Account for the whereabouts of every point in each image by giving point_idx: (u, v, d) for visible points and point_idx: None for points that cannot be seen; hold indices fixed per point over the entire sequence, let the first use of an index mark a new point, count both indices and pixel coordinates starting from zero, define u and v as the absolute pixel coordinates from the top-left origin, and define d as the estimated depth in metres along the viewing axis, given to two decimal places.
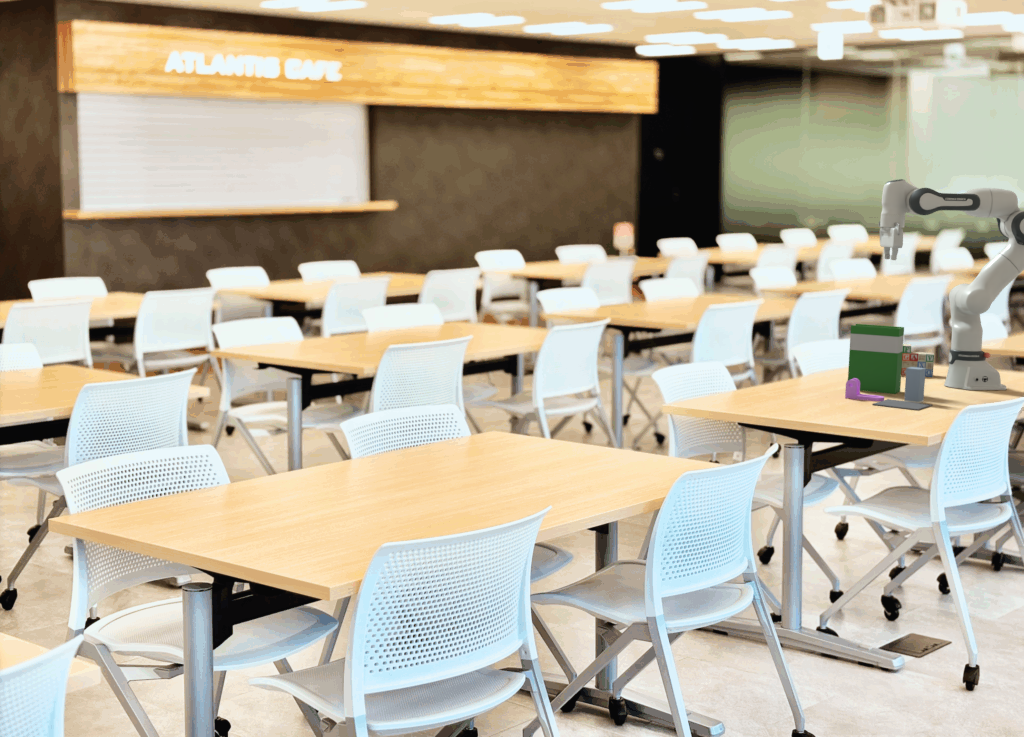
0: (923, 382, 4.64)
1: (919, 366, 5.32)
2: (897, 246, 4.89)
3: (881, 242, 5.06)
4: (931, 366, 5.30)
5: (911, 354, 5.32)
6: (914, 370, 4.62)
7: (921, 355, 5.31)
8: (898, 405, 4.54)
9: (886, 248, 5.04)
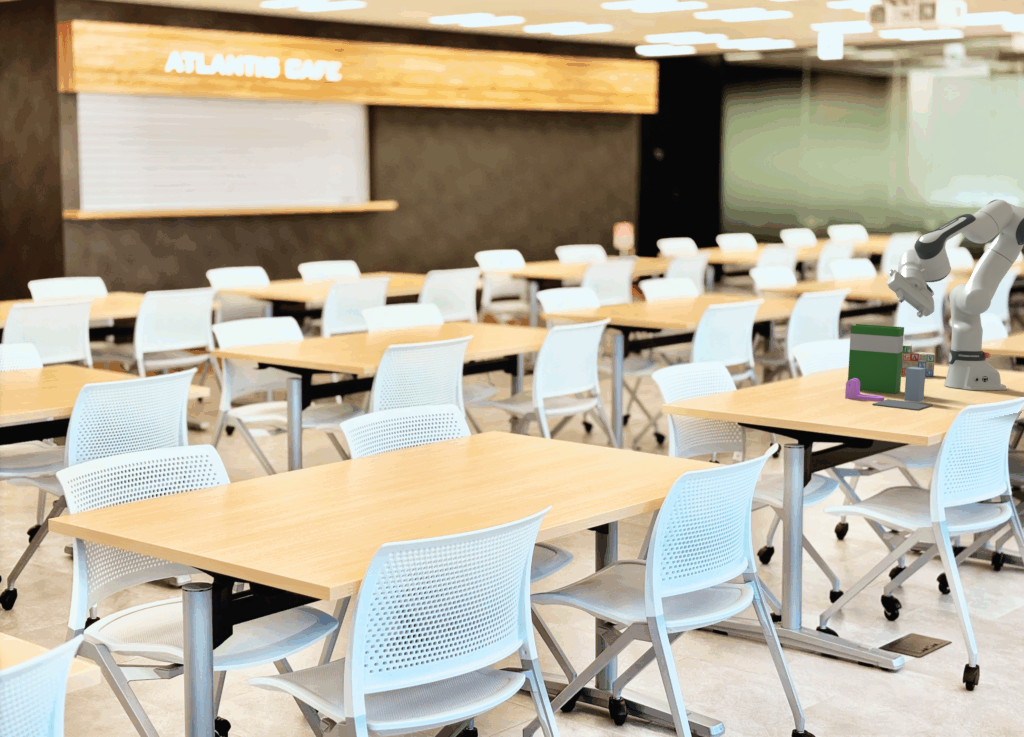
0: (923, 382, 4.64)
1: (920, 366, 5.32)
2: (890, 283, 4.67)
3: None
4: (932, 366, 5.30)
5: (912, 354, 5.32)
6: (914, 370, 4.62)
7: (922, 355, 5.31)
8: (898, 405, 4.54)
9: (920, 309, 4.70)
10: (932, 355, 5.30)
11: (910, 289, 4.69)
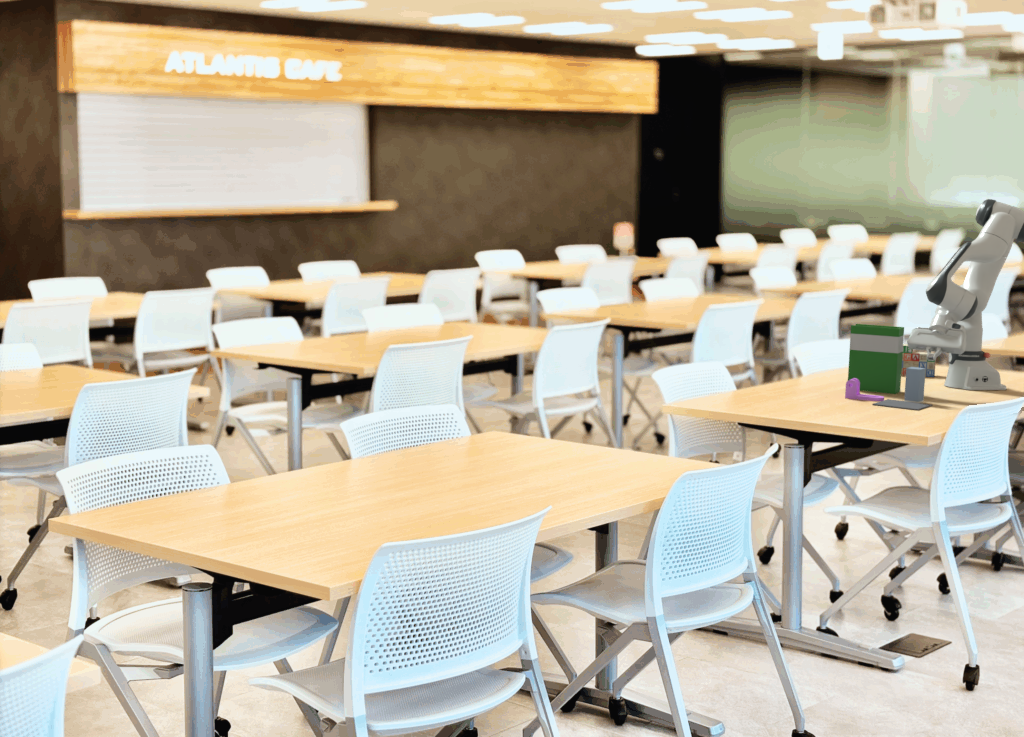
0: (923, 382, 4.64)
1: (920, 366, 5.32)
2: (908, 345, 4.81)
3: None
4: (932, 366, 5.30)
5: (912, 354, 5.32)
6: (914, 370, 4.62)
7: (922, 355, 5.31)
8: (898, 405, 4.54)
9: None
10: None
11: (929, 339, 4.76)
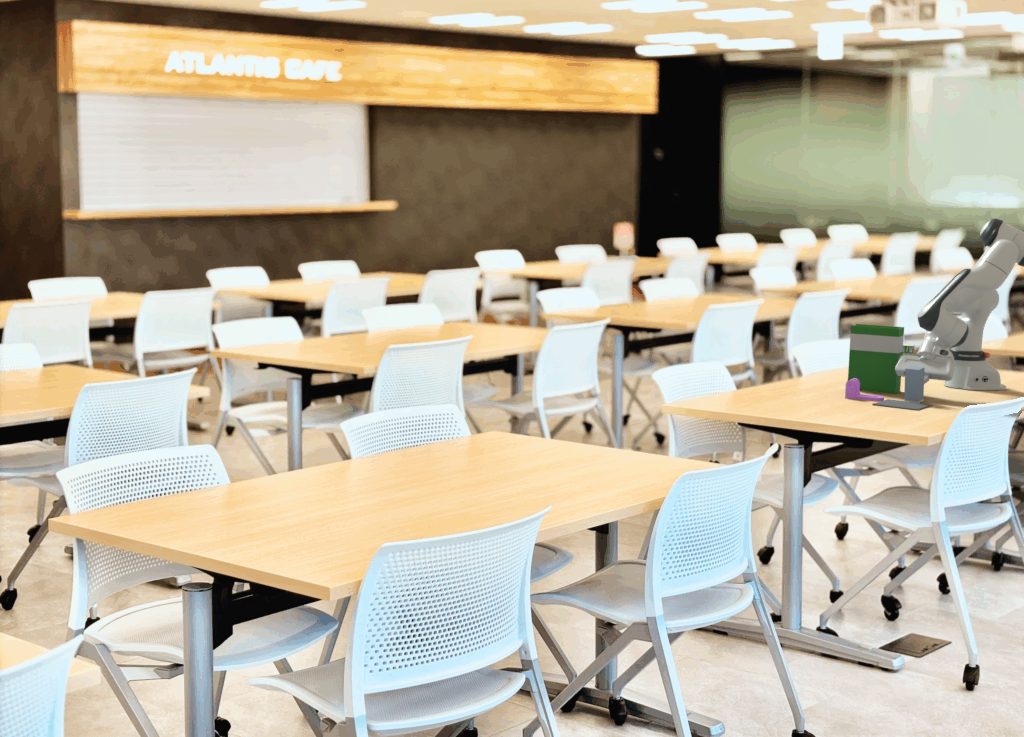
0: (922, 381, 4.64)
1: None
2: (896, 372, 4.75)
3: None
4: None
5: None
6: (913, 370, 4.61)
7: None
8: (898, 405, 4.54)
9: None
10: None
11: (917, 366, 4.70)
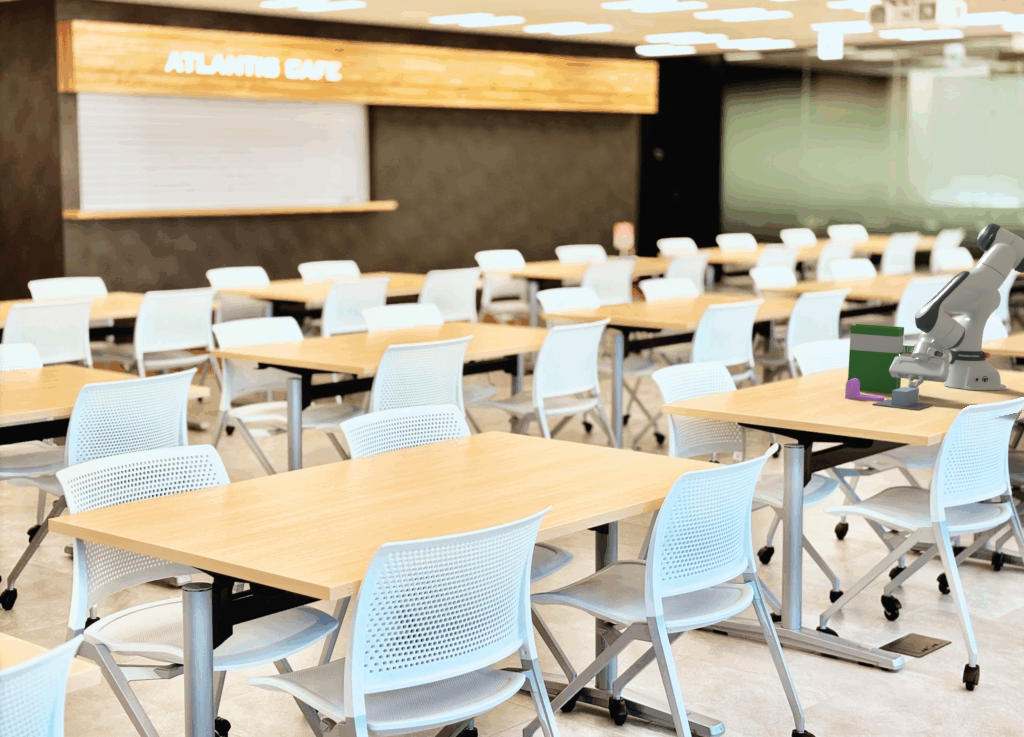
0: (911, 393, 4.56)
1: None
2: (890, 373, 4.71)
3: None
4: None
5: None
6: (900, 405, 4.54)
7: None
8: None
9: None
10: None
11: (911, 367, 4.66)
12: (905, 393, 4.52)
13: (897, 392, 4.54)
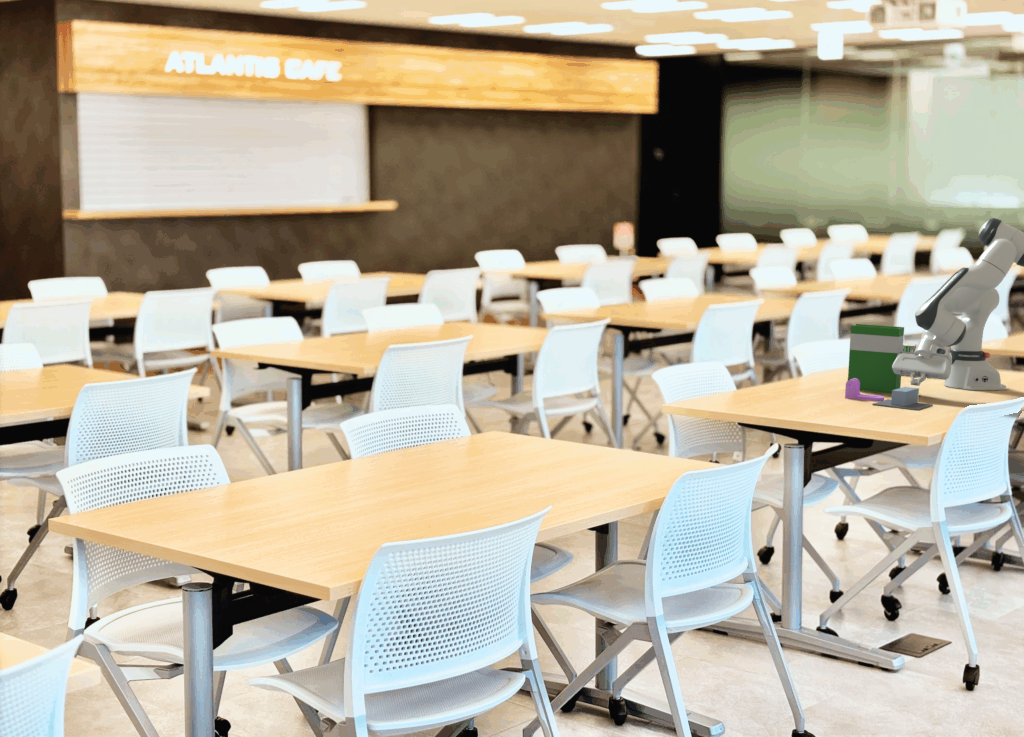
0: (911, 393, 4.56)
1: None
2: None
3: None
4: None
5: None
6: (900, 405, 4.54)
7: None
8: None
9: None
10: None
11: (914, 365, 4.71)
12: (905, 393, 4.52)
13: (897, 392, 4.54)
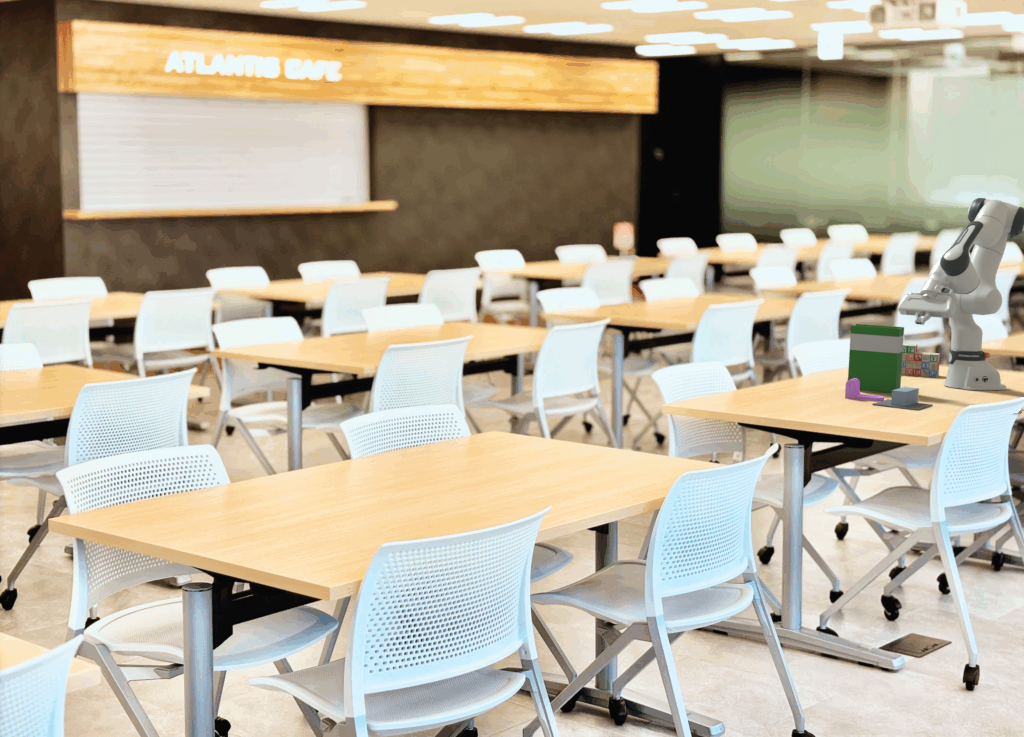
0: (911, 393, 4.56)
1: (923, 366, 5.32)
2: (899, 310, 4.82)
3: None
4: (935, 366, 5.30)
5: (915, 354, 5.33)
6: (900, 405, 4.54)
7: (925, 355, 5.31)
8: None
9: None
10: (935, 355, 5.29)
11: (919, 304, 4.76)
12: (905, 393, 4.52)
13: (897, 392, 4.54)
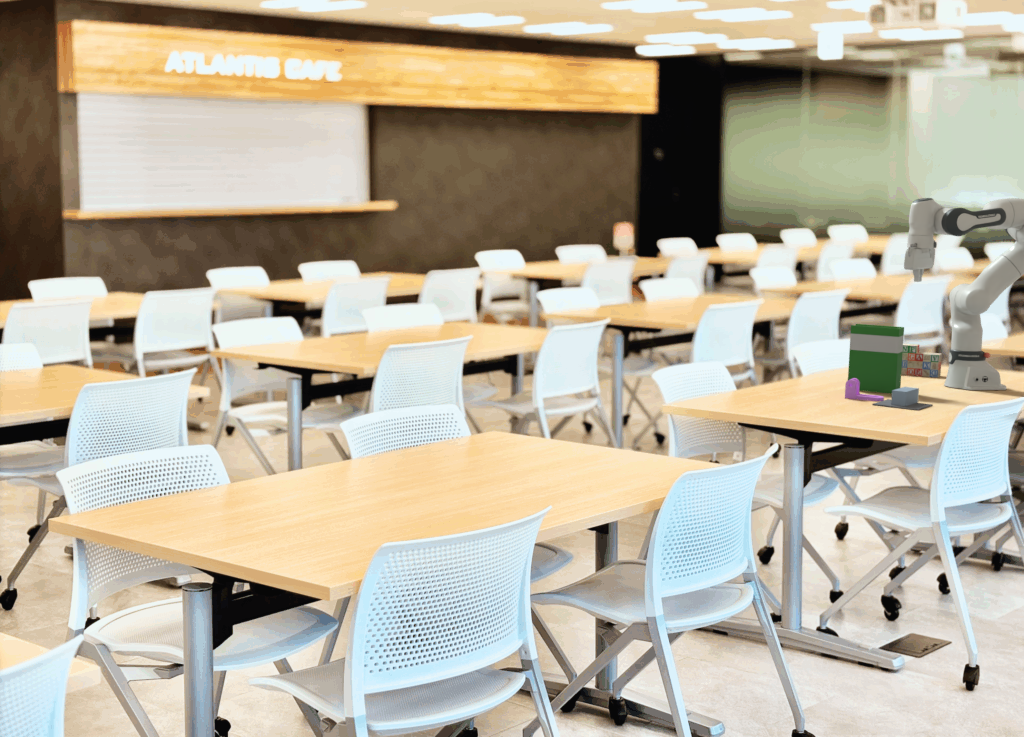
0: (911, 393, 4.56)
1: (924, 366, 5.32)
2: (907, 268, 4.71)
3: None
4: (936, 366, 5.29)
5: (916, 354, 5.33)
6: (900, 405, 4.54)
7: (926, 355, 5.31)
8: None
9: None
10: (936, 355, 5.29)
11: (921, 262, 4.75)
12: (905, 393, 4.52)
13: (897, 392, 4.54)
